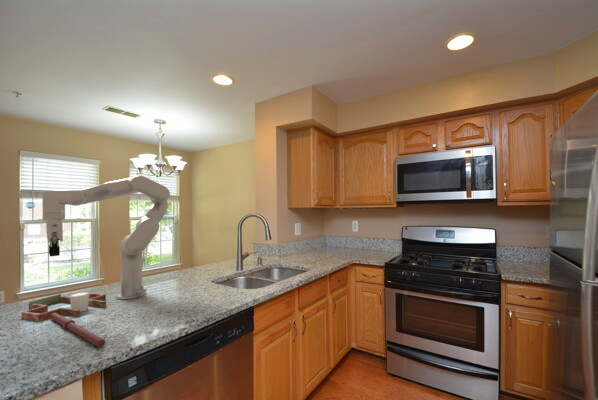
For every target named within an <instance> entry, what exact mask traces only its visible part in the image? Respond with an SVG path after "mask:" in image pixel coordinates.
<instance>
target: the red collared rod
mask: <svg viewBox="0 0 598 400" xmlns="http://www.w3.org/2000/svg"><path fill="white" fill-rule="evenodd" d="M50 319H51V320H53V321H55V322H56V323H58V324H60V325H61V326H62V328H63V329H65V330H70V331H71V332H73V333H75V335H78V336H79V337H81V338H82V339H84V340H86V341H87V342H90V343H91V344H93V345H94V346H95V347H97V348H102V347H103V346H104V345H105V344H106V340H105V339H103V338H101V337H100V336H98V335H96V334H94V333H93V332H91V331H89V330H88V329H86V328H84V327H83V326H80V325H78V324H77V323H76V322H75V320H73V319H71V318H69V319H68V318H66V317H64V316H62V314H60V315H59V314H57V313H52V314H51V316H50Z"/></svg>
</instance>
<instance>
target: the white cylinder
mask: <svg viewBox="0 0 598 400" xmlns="http://www.w3.org/2000/svg"><path fill="white" fill-rule="evenodd" d="M90 293H91V292H88V291H82V292H78V293H72V294H71V295H70V296H69V297H70V302H71V303H70V308H71V309H78V310H80V312H83V311H86V310H88V309H89V305H88V302H89V295H90Z"/></svg>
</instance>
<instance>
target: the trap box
mask: <svg viewBox="0 0 598 400" xmlns="http://www.w3.org/2000/svg"><path fill="white" fill-rule="evenodd" d="M89 293H90V295H89V302H88V307H89V306H91V307H97V308H98V307H99V308H107V301H106V297H107V296H106V295H107V294H105V293H96V292H89ZM55 303H67V304H71V302H70V296H64V295H62V294H61V293H57V294H53V295H50V296H46V297H42V298H38V299H35V300H34V299H33V300H30V301H29V302H28V310H24V311H22V312H21V316H20V317H21V318H20V319H24V320H29V321H35V322H41V321H44V320H47V319H49V318H50V316H51V314H52V313H57V314H59V315H61V316H62V315H65V316H70V317H76V318H77V317H81V311H80V310H78V309H71V307H70V308H68V307H62V306H61V307H59V308H55V309H52V310H48V309H49V306H48V305H53V304H55ZM50 319H51V318H50Z"/></svg>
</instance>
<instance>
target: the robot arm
mask: <svg viewBox="0 0 598 400" xmlns="http://www.w3.org/2000/svg"><path fill="white" fill-rule="evenodd" d="M137 193H140V194H143V195H145V196H146V197H149V199H150V201H151V202H150V207H149V208H148V209H147V210H146V212H145V213H144V214H143V216H142V217H141V218H140V219H139V220H138V221H137V222H136V224H135V229H134V230H133V232H132V233H131V234H128V235H126V236H125V237H123V238H122V239H121V242H120V245H119V246H120V248H119V249H120V293H118V294H116V298H117V300H130V299H136V298H139V297H143V296H145V294H146V292H147V291H148V290H147V289H146V288H144V285H143V253H144V251H145V249H147V247H148V246H149V244H150V243H151V242H153V240H154V238H155V237H156V235H158V232H159V231H160V222H161V221H162V219H163V218H164V217H165V215H166V213H167V211H168V207H169V205H168V204H169V202H168V199H170V196H171V192H170V190H169V188H168V187H166V186H165V185H163V184H161V183H159V182H156V181H155V180H152V179H150V178H149V177H146V176H145V175H139V174H137V175H134V176H132V177H127V178H123V179H118V180H112V181H107V182H104V183H102V184H99V185H96V186H91V187H87V188H82V189H77V188H76V189H75V188H74V189H73V188H72V189H45V190H43V191H42V195H41V196H42V199H41V200H42V202H41V203H42V221H45V223H46V226H45V227H46V228H45V229H46V230H45V231H46V239H47V242H48V243H49V244H48V254H49V257H58V256H60V254H61V253H60V251H61V250H60V249H61V247H60V242H63V241H64V232H63V231H64V230H63V220H66V205H67V206H75V207H77V206H82V205H87V204H91V203H95V202H96V203H97V202H100V201H104V200H112V199H115V198H121V197H125V196H128V195H133V194H137Z"/></svg>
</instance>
